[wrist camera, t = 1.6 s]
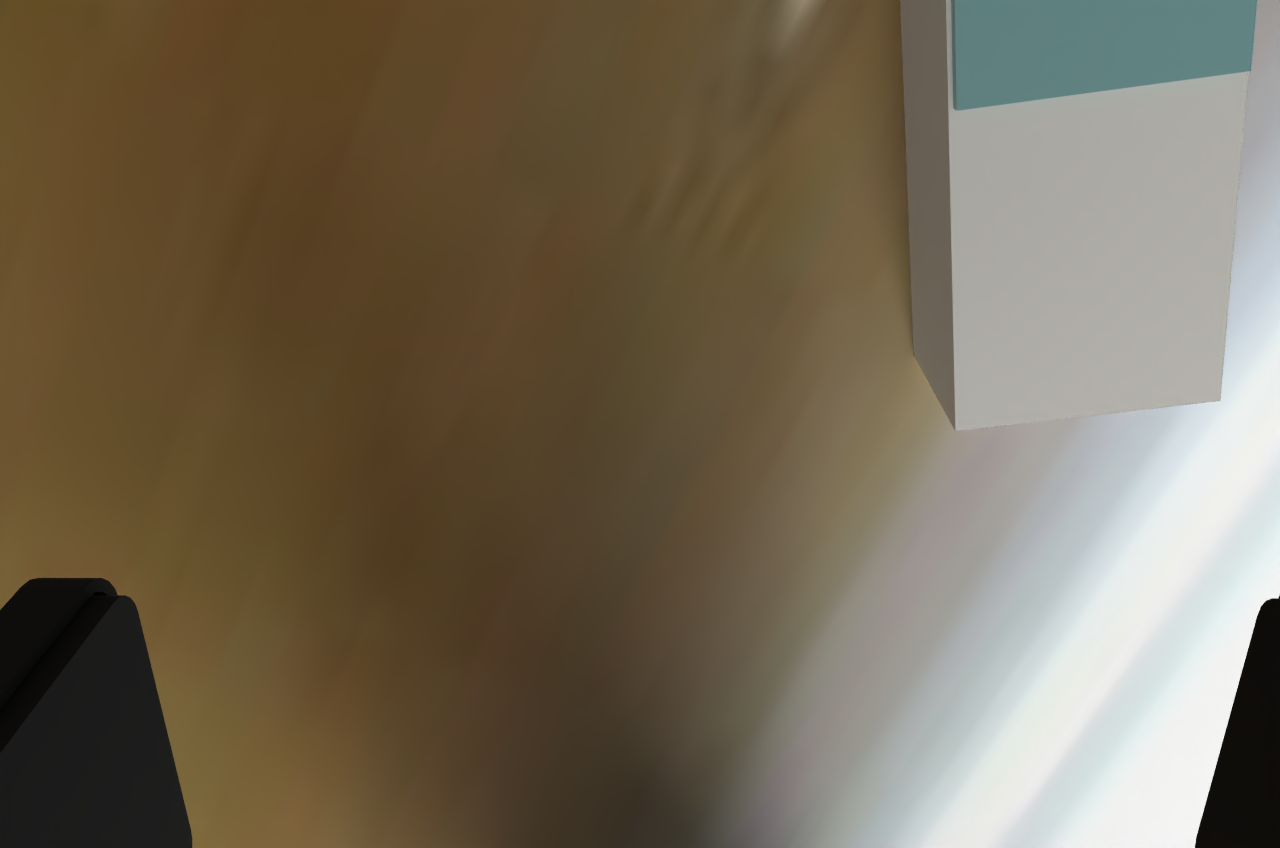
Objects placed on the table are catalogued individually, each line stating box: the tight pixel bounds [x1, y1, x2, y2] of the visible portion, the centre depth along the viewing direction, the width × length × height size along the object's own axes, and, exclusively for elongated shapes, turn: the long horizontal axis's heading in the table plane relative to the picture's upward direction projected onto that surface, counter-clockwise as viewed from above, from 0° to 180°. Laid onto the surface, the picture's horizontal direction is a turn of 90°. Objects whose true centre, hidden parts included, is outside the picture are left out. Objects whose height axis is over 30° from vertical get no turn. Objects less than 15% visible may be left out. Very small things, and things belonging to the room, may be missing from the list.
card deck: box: [900, 0, 1257, 431], centre depth 26 cm, size 10×6×5 cm, turn 8°
